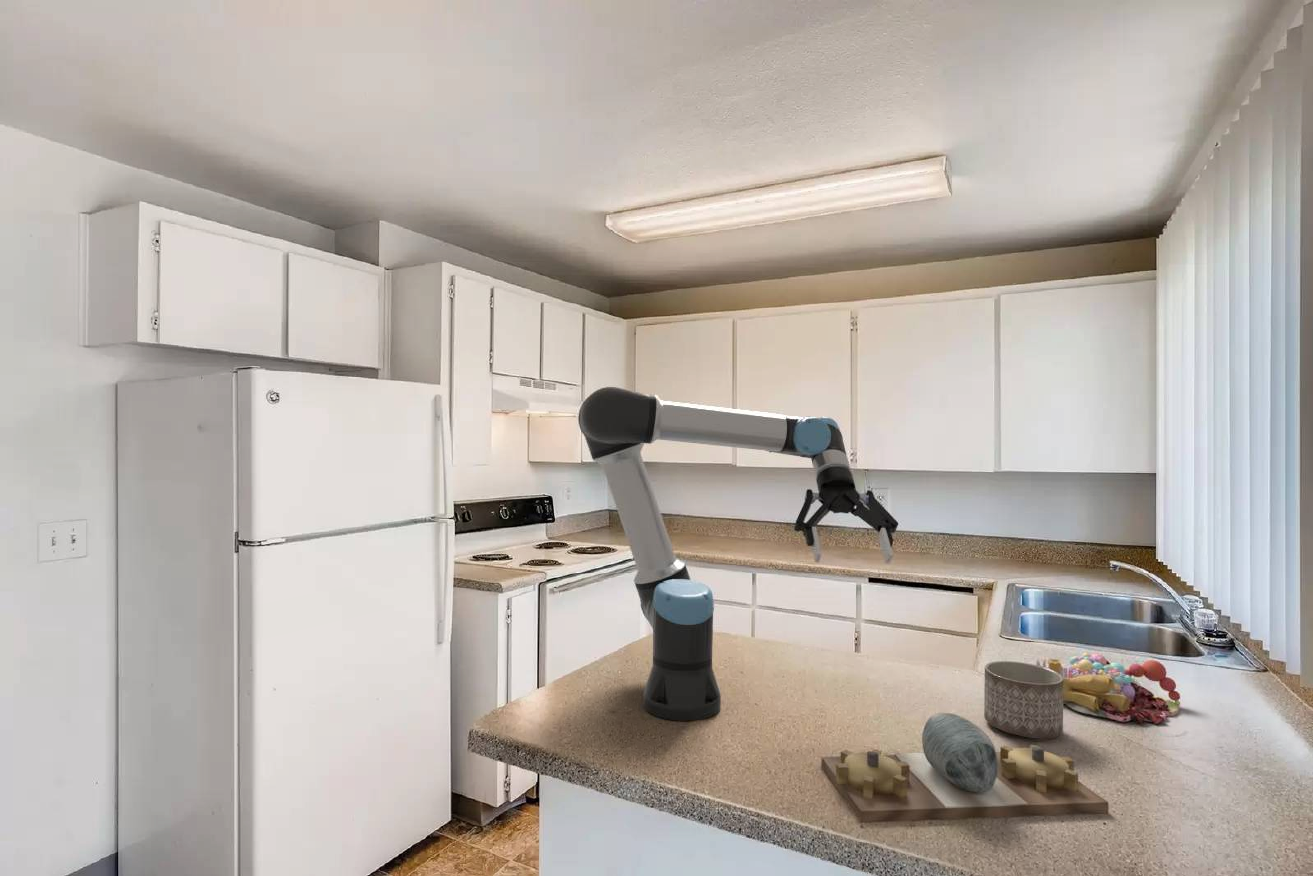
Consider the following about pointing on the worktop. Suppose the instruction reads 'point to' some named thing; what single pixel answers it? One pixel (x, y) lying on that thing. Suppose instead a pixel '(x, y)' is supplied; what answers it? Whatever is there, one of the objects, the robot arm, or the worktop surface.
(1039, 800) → the gear board
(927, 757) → the grey streaked egg
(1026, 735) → the planter
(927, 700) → the worktop surface
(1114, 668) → the candy landscape model
